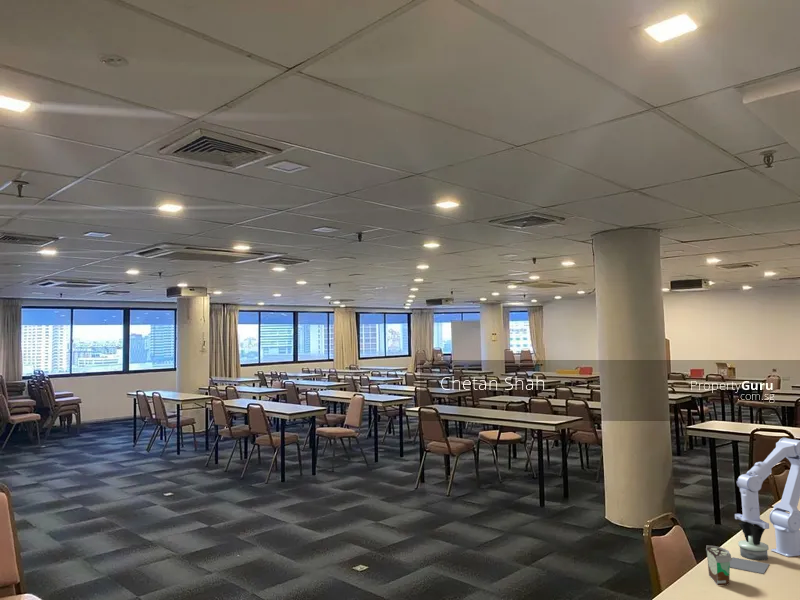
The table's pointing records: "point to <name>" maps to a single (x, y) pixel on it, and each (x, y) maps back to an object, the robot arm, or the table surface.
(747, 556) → the tin
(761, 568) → the mat
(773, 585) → the table surface
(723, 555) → the food container
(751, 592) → the table surface
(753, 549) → the lid
